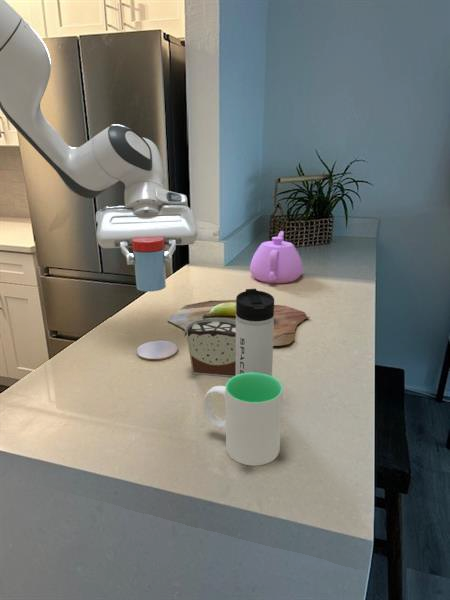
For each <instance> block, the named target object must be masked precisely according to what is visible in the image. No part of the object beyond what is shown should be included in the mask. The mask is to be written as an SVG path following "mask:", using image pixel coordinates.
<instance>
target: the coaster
mask: <svg viewBox="0 0 450 600" xmlns="http://www.w3.org/2000/svg"><path fill="white" fill-rule="evenodd" d="M178 352H179V347H178V345H177V344H176V343H174V342H172V341H170V340H152V341H151V340H150V341H147V342H144V343H142V344H140V345H139V346H138V347H137V349H136V355H137V357H138V358H140V359H142V360H144V361H149V362H160V361H165V360H168V359H171V358H173V357H174V356H176V355H177V354H178Z"/></svg>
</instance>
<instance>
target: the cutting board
mask: <svg viewBox="0 0 450 600" xmlns="http://www.w3.org/2000/svg"><path fill="white" fill-rule="evenodd" d="M236 310H237V309H236V299H223V300H222V299H221V300H206V301H201V302H196V303H191V304H186V305H184V306H183V307H181V308H179V309H178V310H177V311H175V312H174V313H173V314H172V315H171V316H170V317H169V318H168V319H167V321H168V322H170V323H172V324H174V325H175V326H177V327H179V328H181V329H184V331H185V330H186V327H187V326H188V325H189V324H190V323H192V322H194V321H197V320H201V319H206V318H226V319H231V320H234V321H236ZM307 319H311V317H310V316H308V315H307V314H306V312H305V311H303V310H300V309H296V308H294V307H291V306H288V305H280V304H274V332H273V347H281V346H287V345H290V344H291V343H293V341H295V335H296V334H295V333H296V329H297V327H298V325H299V324H301V323H302V322H304V321H305V320H307Z"/></svg>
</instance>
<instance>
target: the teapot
mask: <svg viewBox="0 0 450 600" xmlns="http://www.w3.org/2000/svg"><path fill="white" fill-rule="evenodd" d="M284 234H285V232H284V230H280V231H279V232H278V235H277V236H273V237H271V240H267V241H264V242H262V243H261V244H260V245H259V246H258V247H257V249H256V250H255V252H254V254H253V256H252V258H251V262H250V264H249V271H250V274H251V275H252V276H253V278H255V279H256V280H257V281H259V282H262V283H267V284H288V283H293V282H295V281H296V280H298V279H299V277H300V276H301V275H303V271H304V269H303V268H304V267H303V262H302V258H301V256H300V254H299V252H298V250H297V249H296V247H295V245H294V244H293V243H292V242H290V241H285V240H284V236H285V235H284Z"/></svg>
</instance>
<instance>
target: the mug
mask: <svg viewBox="0 0 450 600" xmlns="http://www.w3.org/2000/svg"><path fill="white" fill-rule="evenodd" d="M213 394H218V395H220V396H221V397H222V398H223V399H224V403H225V419H224V420H223V419H221V418H219V416H217V415H216V414H215V412H214V410H213V408H212V403H211V398H212V395H213ZM282 407H283V385H282V383H281V381H280V380H279V379H278V378H276V377H274V376H273V375H272V376H270V375H267V374H263V373H255V372H250V373H242V374H238V375H236V376H234V377H229V379H228V380H227V381H226V383H225V385H215V386H213V387H211V388H210V389H208V390H207V392H206V393H205V396H204V399H203V410H204V413H205V416H206V419H208V421H209V422H210V423H211V424H212V425H213V426H215V427H216V428H218V429H220V430H223V431H224V433H225V451H226V453H227V454H228V456H229V457H230V458H231V459H232V460H234V461H235V462H236V463H239V464H242V465H246V466H249V467H250V466H253V467H256V466H257V467H258V466H264V465H267V464H270V463H272V462H273V461H274V460H276V458H277V457H278V456H279V454H280V450H281V429H282Z"/></svg>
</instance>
